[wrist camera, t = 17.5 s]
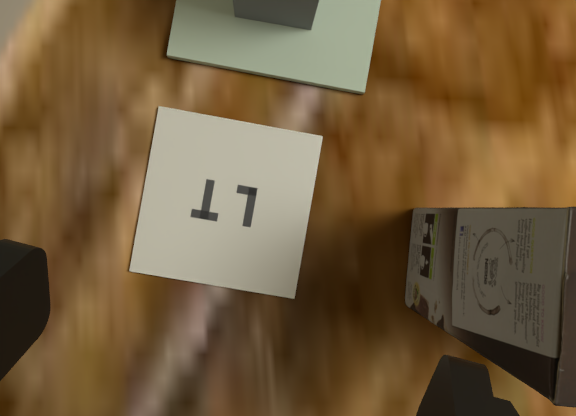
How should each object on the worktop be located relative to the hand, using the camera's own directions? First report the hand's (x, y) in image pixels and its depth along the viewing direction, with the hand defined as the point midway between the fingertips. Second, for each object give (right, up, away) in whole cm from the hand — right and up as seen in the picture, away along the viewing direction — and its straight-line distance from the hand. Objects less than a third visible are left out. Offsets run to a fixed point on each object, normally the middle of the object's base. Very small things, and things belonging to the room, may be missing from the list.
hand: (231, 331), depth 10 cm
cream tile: (-3, +3, +21) cm, 21 cm away
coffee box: (+13, -1, +22) cm, 26 cm away
